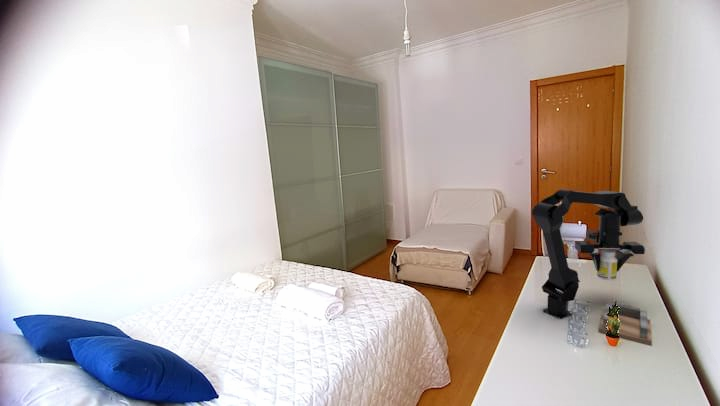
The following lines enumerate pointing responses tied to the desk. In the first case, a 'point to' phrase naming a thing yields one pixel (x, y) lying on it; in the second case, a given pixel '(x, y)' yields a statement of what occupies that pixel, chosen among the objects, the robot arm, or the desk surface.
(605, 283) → the desk surface
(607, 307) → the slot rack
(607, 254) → the supplement bottle
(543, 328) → the desk surface
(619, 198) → the robot arm
